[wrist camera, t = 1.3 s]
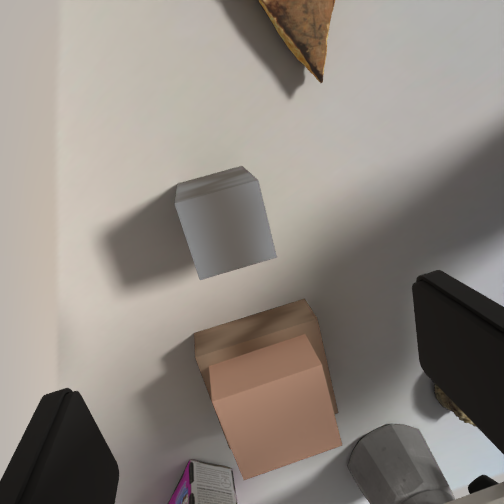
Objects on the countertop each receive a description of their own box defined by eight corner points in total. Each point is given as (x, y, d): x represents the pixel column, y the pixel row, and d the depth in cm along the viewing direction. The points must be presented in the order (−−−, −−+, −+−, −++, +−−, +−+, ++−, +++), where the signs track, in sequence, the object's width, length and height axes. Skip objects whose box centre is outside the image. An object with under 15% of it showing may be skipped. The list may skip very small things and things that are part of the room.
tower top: (305, 333, 30) (321, 364, 26) (324, 408, 33) (342, 445, 29) (208, 366, 30) (212, 401, 26) (237, 438, 32) (243, 480, 29)
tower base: (302, 296, 33) (317, 318, 30) (323, 383, 37) (338, 412, 33) (194, 330, 33) (195, 357, 29) (225, 415, 36) (229, 449, 33)
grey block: (242, 165, 28) (258, 179, 22) (257, 227, 30) (276, 257, 24) (177, 183, 28) (174, 203, 22) (197, 244, 30) (199, 280, 23)
